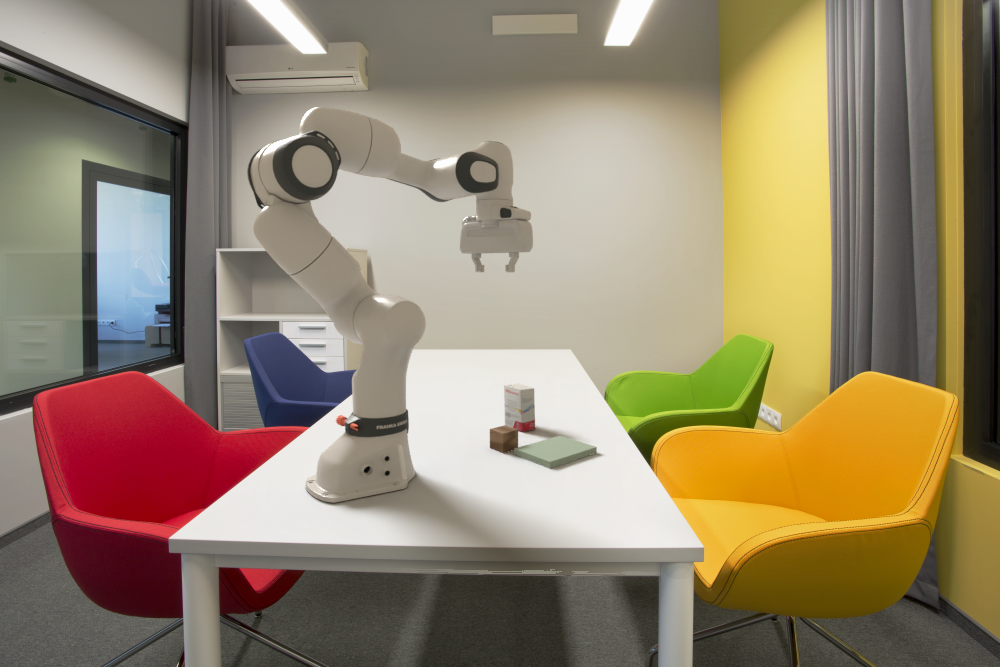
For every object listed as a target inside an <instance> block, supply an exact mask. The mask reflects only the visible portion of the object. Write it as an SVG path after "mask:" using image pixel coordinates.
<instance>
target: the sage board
mask: <svg viewBox="0 0 1000 667" xmlns="http://www.w3.org/2000/svg"><path fill="white" fill-rule="evenodd" d="M597 450H598V449H597V446H594V445H592V444H588V443H585V442H582V441H579V440H576V439H572V438H569V437H566V436H564V435H558V436H554V437H551V438H547V439H543V440H540V441H535V442H531V443H529V444H525V445H522V446H518V448H514V450H513V452H514V454H515V456H517V457H519V456H520V457H519V458H522V459H524V458H525V460H528V461H529V462H532V463H535V464H538V465H540V466H543V467H545V468H548V469H553V468H555V467H558V466H562V465H564V464H567V463H570V462H573V461H576V460H580V459H582V458H586V457H588V455H589V456H591V455H590V454H592V455H594V454H593V453H595V454H597V453H598V452H597ZM596 452H597V453H596ZM585 456H586V457H585ZM579 458H580V459H579Z"/></svg>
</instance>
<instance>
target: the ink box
mask: <svg viewBox="0 0 1000 667" xmlns="http://www.w3.org/2000/svg"><path fill="white" fill-rule="evenodd" d="M503 389H504V390H503V391H504V392H503V393H504V394H503V396H504V397H503V399H504V400H503V401H504V425H506V426H509V427H512V428H515V429H518V432H522V433H524V432H528V431H531V430H536V415H535V414H536V412H535V408H536V406H535V405H536V404H535V388H533V387H531V386H526V385H523V384H520V383H512V384H505V385H503Z"/></svg>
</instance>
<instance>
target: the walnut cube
mask: <svg viewBox="0 0 1000 667" xmlns="http://www.w3.org/2000/svg"><path fill="white" fill-rule="evenodd" d="M518 447H519V430H518V429H515V428H512V427H509V426H506V425H505V424H504V425H500V426H497V427H493V428H489V449H491V450H493V449H494V450H493V451H495V452H498V451H499V452H498V453H501V454H505V452H506V453H509V452H512V451H511V450H513V451H514V448H518ZM508 451H509V452H508Z"/></svg>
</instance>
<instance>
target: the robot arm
mask: <svg viewBox="0 0 1000 667" xmlns="http://www.w3.org/2000/svg"><path fill="white" fill-rule="evenodd" d="M298 131H299V132H298V133H299V134H297V135H293V136H291V137H288V138H286V139H281V140H280V139H279V140H275V141H273V142H271V143H268V144H267V145H266V146H264V147H262V148H260V149H258V150H257V151H256V152H255V153H254V154H253V155H252V157H250V160H249V162H248V165H247V171H246V173H247V180H248V184H249V186H250V188H251V190H252V192H253V196H254V199H255V201H256V204H257V206H258V208H259V209H260V211H259V212H258V214H257V215H256V217H255V218H254V223H253V234H254V236H255V238H256V240H257V241H258V242H259V244H260V245H261V246H262V248H263V249H264V250H265V251H266V253H267V254H268V255H269V256H270V258H271V259H272V260H273V261H274V262H275V263H276V264H277V265H278V266H279V267H280V268H281V269H282V270H283V271H284V272H285V273H286V274H287V275H288V276H289V277H290V279H292V280H293V281H294V282H295V283H296V284H297V285H299V286H300V287H301V288H302V289H303V290H304V291H305V292H306V293H307V294H308V295H309V296H310V297H312V299H314V301H315V302H317V304H318V305H319V306H320V307H321V308H322V310H323V311H324V312H325V314H326V315H327V316H328V318H329V319H330V320H331V322H332V323H333V326H334V328H335V330H336V331H337V332H338V334H340V335H341V336H342V337H343V338H344V339H347V340H348V341H350V342H351V343H353V344H357V345H361V346H362V352H361V357H360V361H359V365H358V368H357V369H356V370H355V371H354V372H353V374H352V378H351V390H352V391H351V392H352V394H351V395H352V396H351V397H352V412H351V414H350V415H349V416H348V417H347V416H345V415H342V414H341V415H338V416H337V417H336V418H335V419H336V420H335V422H336V424H337V425H338V426H340V427H344V430H345V432H343V433H342V434H341V435H340V436H339V437H338V438H337V439H336V440H335V441H334V442H333V443H332V444H330V445H329V446H328V447H327V448H326V449H325V450H323V451H322V452H321V453H320V456H319V457H318V460H317V466H316V473H315V475H312V476H308V477H307V478H306V480H305V486H306V487H305V489H306V491H307V492H308V493H309V494H310V495H311V496H312V497H313V498H316V499H318V500H320V501H323V502H326V503H339V502H344V501H345V502H346V501H349V500H350V501H351V500H355V499H360V498H365V497H370V496H374V495H376V496H377V495H380V494H385V493H390V492H394V491H395V492H396V491H401V490H403V489H404V490H405V489H406V488H408V485H409V482H410V481H411V480H412V479H414V477H415V476H416V470H415V468H414V465H413V460H412V457H411V456H412V455H411V451H410V445H409V436H408V434H409V427H410V426H409V425H410V422H409V420H410V418H409V409H407V372H408V367H409V364H410V359H411V356H412V353H413V351H414V350H413V349H414V348H415V347H416V345H418V343H419V342H420V341H421V340H422V338H423V337H424V334H425V330H426V323H427V322H426V318H425V317H426V316H425V314H424V312H423V310H422V308H421V307H420V306H419V305H418V304H417V303H415V302H414V301H411V300H410V299H408V298H405V297H403V296H399V295H392V294H391V295H390V294H381V293H379V292H376V291H375V290H374V289H373V288H372V287H370V285H369V284H368V282H367V281H366V279H365V278H364V276H363V275H362V272H361V270H362V268H361V266H360V265H361V264H360V263H359V261H357V259H356V258H355V257H353V255H352V254H351V253H350V252H349V251H348V250H347V249H346V248H345V247H344V246H343V244H341V243H340V242H339V241H338V239H336V237H335V236H334V235H333V234H332V233H331V232H330V231H329V230H328V229H327V228H326V227H325V226H324V225H323V224H322V223H320V222H319V219H318V218H317V216H316V214H315V212H314V209H313V207H312V202H311V201H315V200H319V199H320V198H322V197H324V196H326V194H328V193H329V192H330V190H331V189H332V188H333V187H334V184H335V183H336V180H337V178H338V177H337V176H338V172H339V170H341V171H345V172H348V173H353V174H355V175H359V176H365V177H369V178H370V177H371V178H380V179H386V180H389V181H393V182H396V183H399V184H402V185H405V186H409V187H411V188H415V189H417V190H418V191H420V192H422V193H423V194H425V195H426V196H427V198H430V200H432V201H434V202H437V203H446V202H448V201H449V202H450V201H452V200H454V199H461V198H466V197H471V196H475V197H476V199H475V200H476V201H475V212H476V213H475V215H469V216H466V217H465V218H464V219H463V221H462V223H461V230H460V236H459V250H460V252H461V254H467V255H471V259H472V262H473V264H474V265H475V267H474V271H475V272H476V273H484V272H485V264H482V261H481V259H482V254H506V253H507V254H508V257H509V258H510V259H509V262H508V264H505V269H504V270H505V273H515V272H516V265H517V262H518V261H519V259H520V253H530V252H531V251H532V250H533V246H534V235H533V234H534V233H533V227H532V223H531V222H530V221H531V218H532V213H531V211H529V210H526V209H523V208H521V207H517V206H514V197H513V193H512V189H513V185H514V164H513V163H514V162H513V157H512V152H511V150H510V148H509V147H508V145H506V144H505V143H503V142H499V141H493V140H487V141H482V142H481V143H479V145H477V146H475V147H474V148H472V149H469V150H466V151H463V152H462V151H461V152H459V153H455V154H452V155H447V156H445V157H441V158H436V159H435V158H434V159H430V160H422V159H419V158H416V157H414V156H411V155H408V154H405V153H402V145H401V144H402V143H401V140H400V137H399V135H398V132H396V130H395V129H394V128H393V127H392V126H390V125H388V124H387V123H385V122H384V121H381V120H378V119H377V118H373V117H370V116H367V115H364V114H361V113H358V112H353V111H351V110H346V109H341V108H335V107H324V106H316V107H313V108H311V109H309V110H308V111H306V113H305V114H304V116H303V117H302V119H301V122H300V124H299V130H298Z"/></svg>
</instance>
